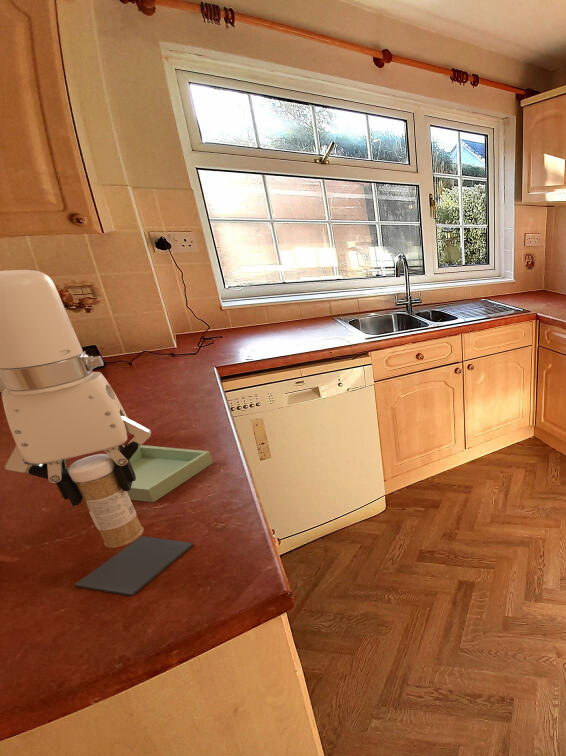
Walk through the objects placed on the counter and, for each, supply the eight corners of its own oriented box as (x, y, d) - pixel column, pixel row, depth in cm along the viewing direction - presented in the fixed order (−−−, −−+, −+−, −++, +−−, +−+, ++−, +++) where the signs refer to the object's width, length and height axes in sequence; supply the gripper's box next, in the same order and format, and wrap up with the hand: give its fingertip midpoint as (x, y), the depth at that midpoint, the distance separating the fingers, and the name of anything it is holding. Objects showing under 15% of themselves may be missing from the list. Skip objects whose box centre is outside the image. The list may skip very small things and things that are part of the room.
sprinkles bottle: (114, 532, 64) (78, 455, 59) (150, 524, 65) (118, 449, 60) (98, 553, 60) (58, 473, 55) (136, 545, 61) (101, 466, 56)
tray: (77, 493, 82) (71, 480, 81) (145, 456, 94) (141, 444, 93) (153, 502, 79) (148, 489, 78) (213, 462, 91) (209, 451, 90)
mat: (75, 586, 61) (74, 584, 61) (142, 537, 70) (141, 536, 70) (132, 596, 59) (131, 594, 59) (193, 544, 68) (193, 542, 68)
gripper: (138, 352, 60) (179, 462, 67) (-41, 379, 51) (27, 502, 58) (131, 366, 54) (177, 484, 61) (-71, 399, 45) (9, 533, 52)
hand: (103, 492), depth 60 cm, fingers closed on sprinkles bottle, 4 cm apart
